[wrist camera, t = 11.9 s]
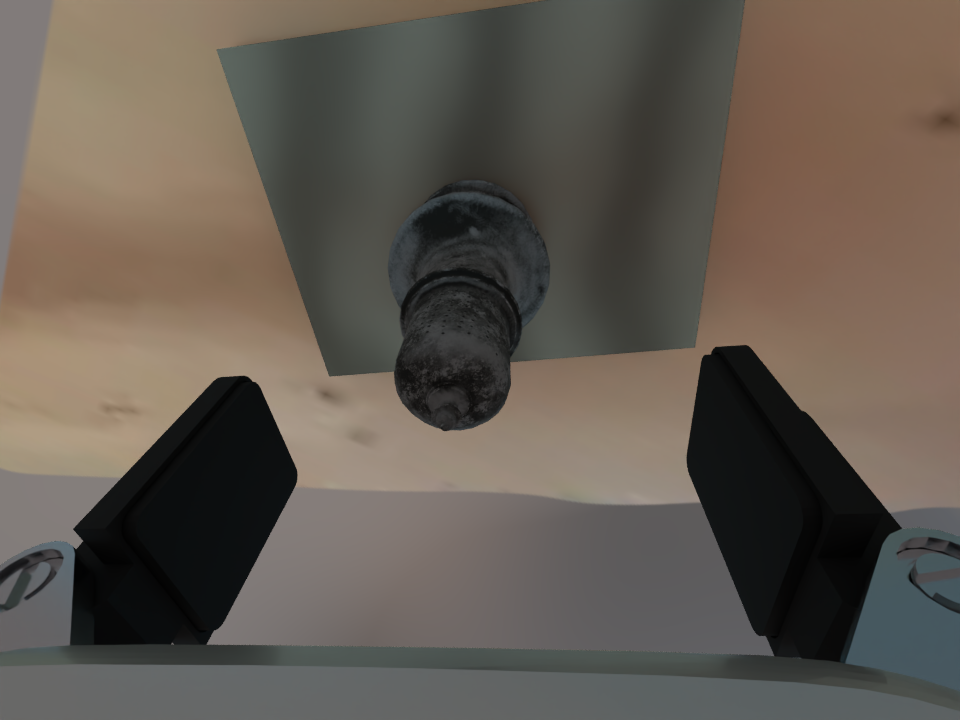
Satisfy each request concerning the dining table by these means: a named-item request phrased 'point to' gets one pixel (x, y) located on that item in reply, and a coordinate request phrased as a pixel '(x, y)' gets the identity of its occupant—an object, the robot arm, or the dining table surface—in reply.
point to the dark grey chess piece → (464, 300)
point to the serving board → (501, 159)
